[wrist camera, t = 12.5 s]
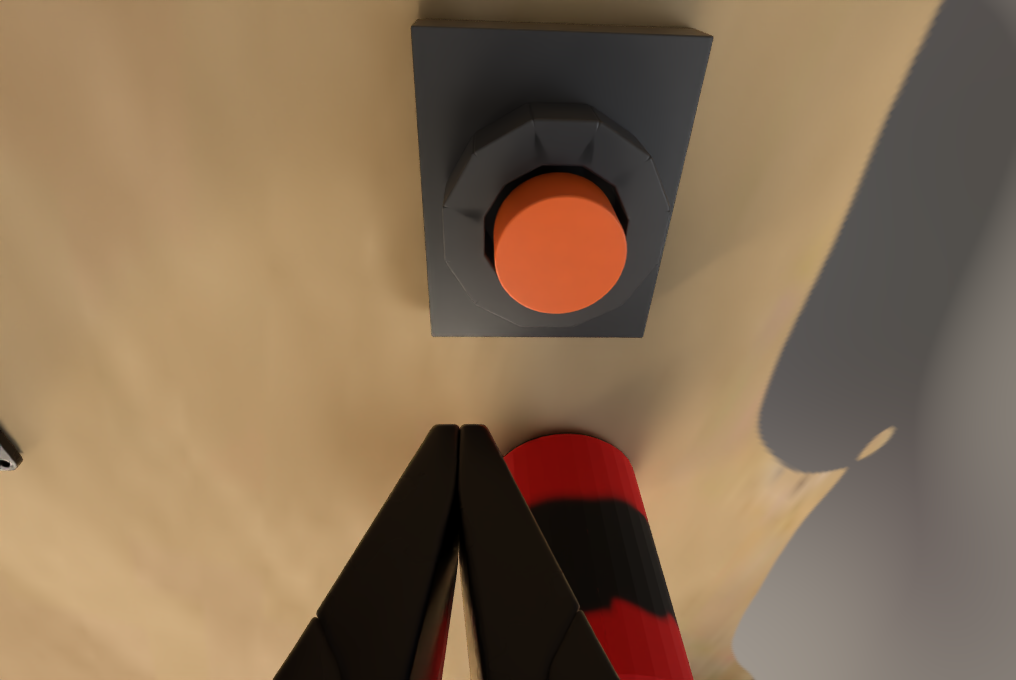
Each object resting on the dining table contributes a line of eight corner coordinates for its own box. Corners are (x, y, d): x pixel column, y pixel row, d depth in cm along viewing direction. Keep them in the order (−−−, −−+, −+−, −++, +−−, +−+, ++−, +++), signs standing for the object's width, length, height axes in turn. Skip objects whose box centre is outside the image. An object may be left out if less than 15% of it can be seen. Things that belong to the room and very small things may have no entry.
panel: (632, 313, 21) (655, 368, 18) (434, 311, 21) (427, 368, 18) (693, 27, 15) (741, 46, 12) (416, 18, 15) (401, 35, 12)
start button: (605, 284, 17) (616, 315, 15) (492, 283, 17) (493, 314, 15) (623, 172, 15) (638, 196, 13) (494, 169, 14) (495, 193, 13)
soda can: (457, 478, 27) (443, 770, 17) (573, 405, 24) (633, 705, 15) (548, 537, 31) (578, 806, 21) (659, 479, 28) (752, 761, 18)
